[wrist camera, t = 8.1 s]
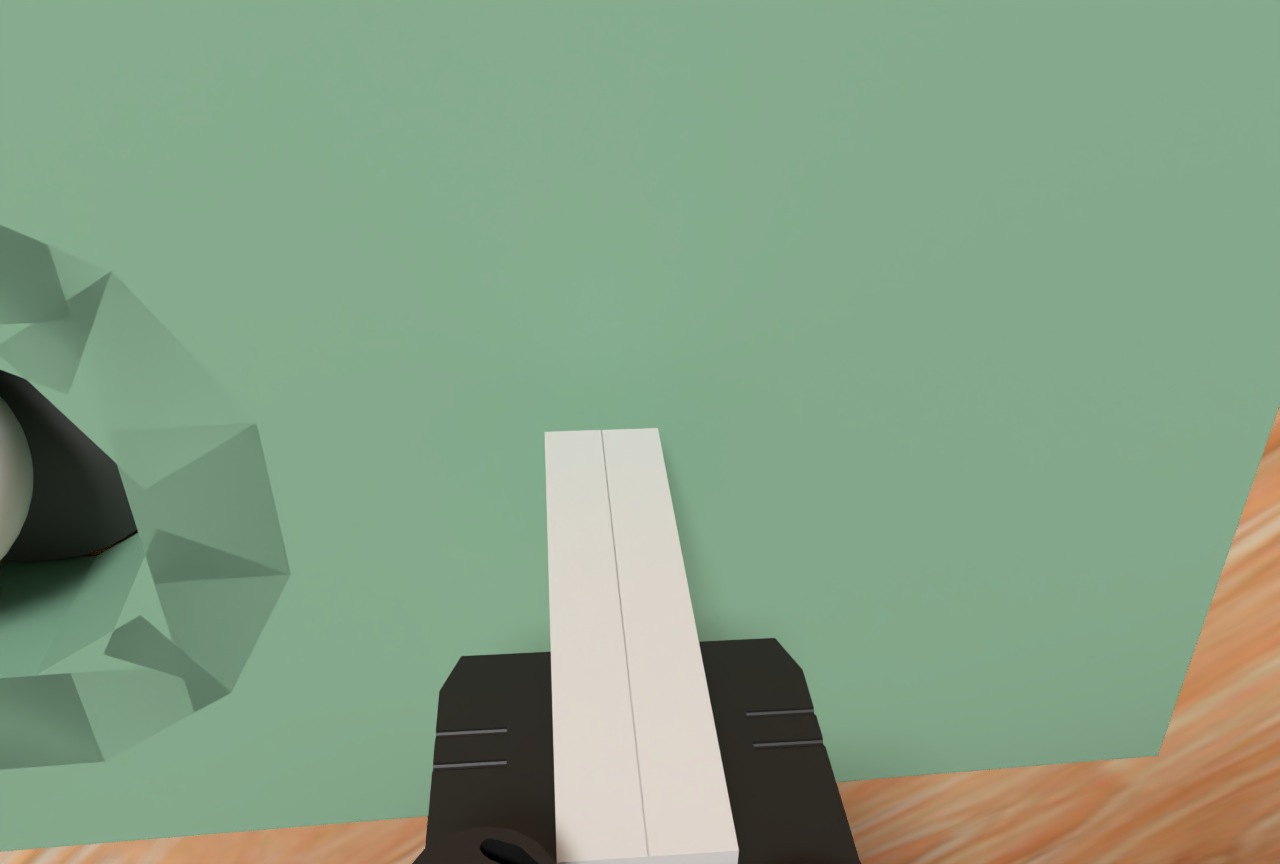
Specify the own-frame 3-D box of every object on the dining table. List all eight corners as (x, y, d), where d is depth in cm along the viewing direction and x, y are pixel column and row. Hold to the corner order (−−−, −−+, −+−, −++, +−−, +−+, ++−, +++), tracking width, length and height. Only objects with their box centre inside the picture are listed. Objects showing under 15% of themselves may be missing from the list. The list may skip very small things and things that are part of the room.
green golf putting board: (-677, -36, 14) (-1264, 72, 9) (1289, -82, 16) (1603, -11, 11) (-212, 742, 21) (-411, 1015, 17) (1087, 645, 23) (1227, 865, 19)
